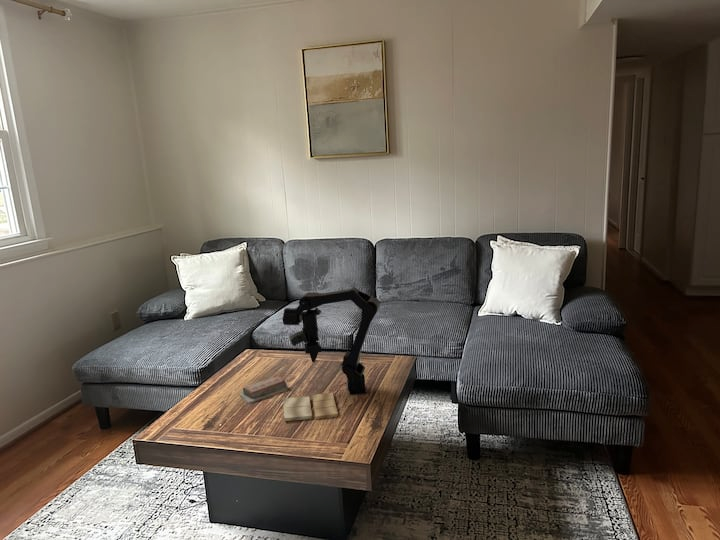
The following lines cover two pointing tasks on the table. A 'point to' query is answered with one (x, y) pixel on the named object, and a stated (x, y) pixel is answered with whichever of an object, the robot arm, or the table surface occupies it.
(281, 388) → the packaged product
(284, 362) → the table surface
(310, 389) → the table surface
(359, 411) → the table surface
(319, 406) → the laid board
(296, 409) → the beige grooved panel
